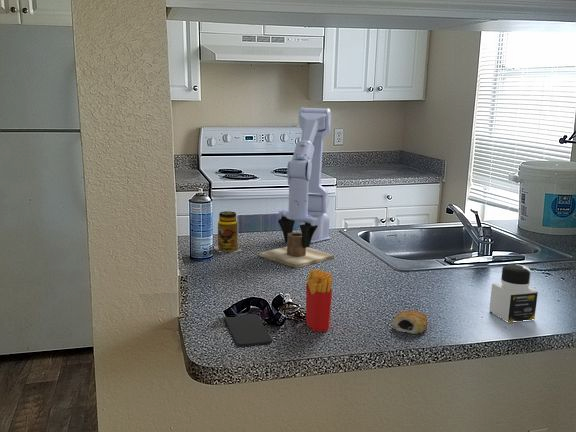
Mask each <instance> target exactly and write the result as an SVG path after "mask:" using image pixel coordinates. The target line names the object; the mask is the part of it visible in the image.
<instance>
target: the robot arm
mask: <svg viewBox="0 0 576 432" xmlns="http://www.w3.org/2000/svg"><path fill="white" fill-rule="evenodd" d="M298 124H299V127H300V129H301V130H302V131H301V137H300V140H299V142H297V143H296V144H295V146H294V147H295V148H294V151H293V155H292V159H291V161H288V163H287V166H286V167H287V169H286V175H287V185H288V210H279V211H278V218H280V219H278V221H277V223H278V224H279V226H280V228H281V230H282V234H283V239H284V243H285V244H286V243H287V236H288V233H293V232H294V225H295V223H296V222H298V223H299V222H300V224H299V228H300V233H302V246H303V248H307V247H308V248H310V246H311V244H312V243H313V244H314V243H318V242H322V241H323V242H324V241H325V240H326V241H327V240H331V237H330V218H329V215H328V214H327V212H328V209H329V192H328V190H327V188H325V187H324V186H322V184H321V180H322V167H323V166H322V164H323V148H324V141H325V136H327V135H329V134H330V133H331V129H332V128H331V127H332V125H331V124H332V112H331V109H330V108H328V107H327V108H319V107H318V108H317V107H314V108H313V107H302V106H301V108H300V109H299V112H298Z"/></svg>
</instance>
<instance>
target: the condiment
mask: <svg viewBox="0 0 576 432" xmlns="http://www.w3.org/2000/svg"><path fill="white" fill-rule="evenodd" d="M218 217H219V218H218V219H219V220H218V222H217V245H215V246H214V248H213V249H214V250H215V251H217V249H218V248H219V249H218V250H219V251H221V252H229V253H228V254H230V253H237V252H243V251H244V250H242V249H241V248H239V247H238V220H237V213H236V212H235V211H230V210H229V211H220V212H219V215H218Z"/></svg>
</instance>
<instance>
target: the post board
mask: <svg viewBox="0 0 576 432" xmlns="http://www.w3.org/2000/svg"><path fill="white" fill-rule="evenodd" d="M258 255H259V257H262V258H264V259H267V260H271V261H274V262H275V263H276V262H277V263H279V264H283V265H285V266H288V267H291V268H295V269H298V268H299V269H300V268H302V267H306V266H311V265H314V264H318V263H321V262H325V261H328V260H329V261H330V260H333V259H335V255H334V254H333V253H332V254H331V253H328V252H325V251H321V250H317V249H315V248H311V247H307V248H306V255H305V256H301V257H294V256H289V255H287V246H284V247H278V248H273V249H269V250H266V251H261V252H259V254H258Z"/></svg>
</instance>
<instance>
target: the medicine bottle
mask: <svg viewBox="0 0 576 432" xmlns="http://www.w3.org/2000/svg"><path fill="white" fill-rule="evenodd" d="M501 269H502V270H501V278H500V282H494V283H491V292H490V301H489V309H488V311H491V312H492V313H494V314H495V315H497V316H499V317H501V318H502V319H504V320H506V321H508V322H513V321H523V320H532V319H534V320H535V317H536V311H537V309H536V308H537V304H538V294H539V293H538V292H539V291H538V290H536V289H534V288H532V287H530V285H531V276H532V269H530V268H529V267H527V266H526V265H522V264H517V263H516V264H515V263H510V264H509V263H508V264H506V265H504V266H502V268H501ZM492 313H491V314H492ZM494 314H493V315H494ZM495 315H494V316H495ZM497 316H496V317H497ZM499 317H498V318H499ZM502 319H501V320H502ZM504 320H503V321H504Z"/></svg>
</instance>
